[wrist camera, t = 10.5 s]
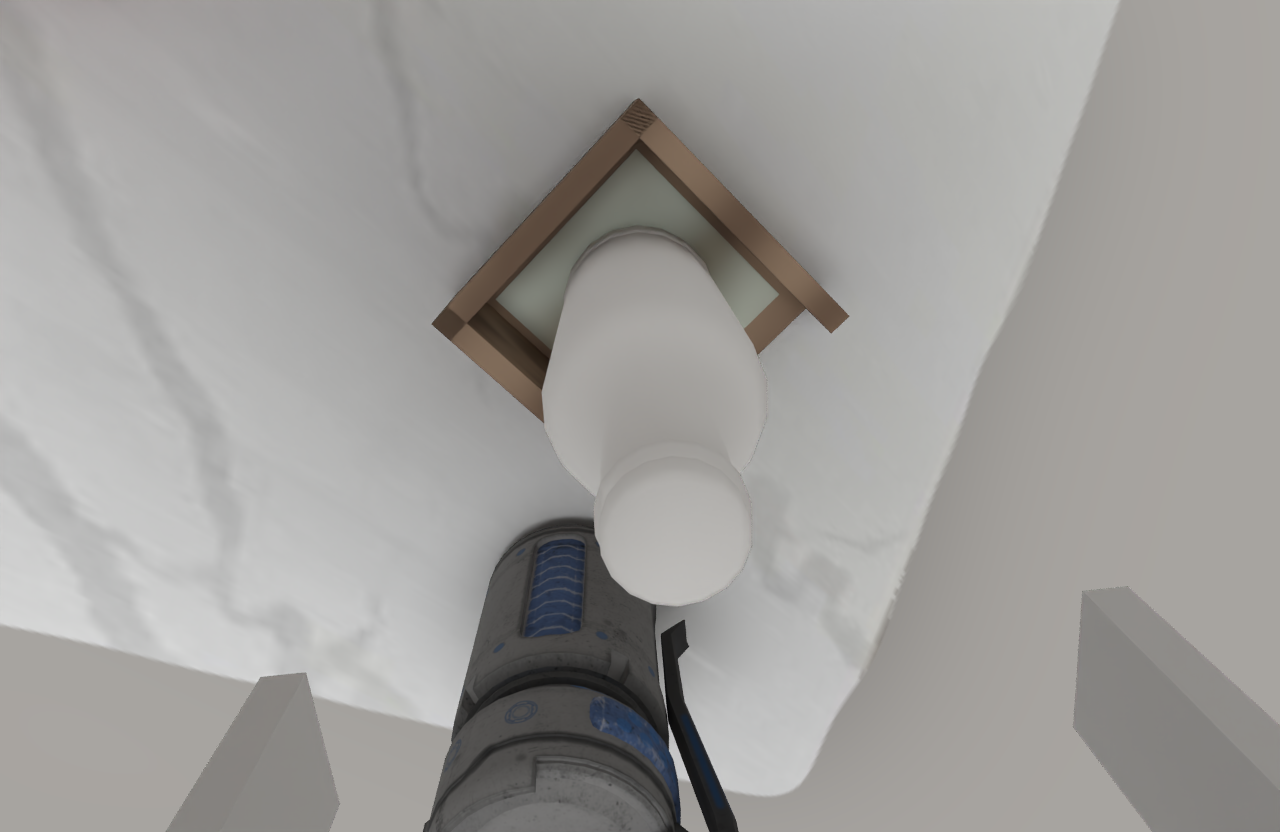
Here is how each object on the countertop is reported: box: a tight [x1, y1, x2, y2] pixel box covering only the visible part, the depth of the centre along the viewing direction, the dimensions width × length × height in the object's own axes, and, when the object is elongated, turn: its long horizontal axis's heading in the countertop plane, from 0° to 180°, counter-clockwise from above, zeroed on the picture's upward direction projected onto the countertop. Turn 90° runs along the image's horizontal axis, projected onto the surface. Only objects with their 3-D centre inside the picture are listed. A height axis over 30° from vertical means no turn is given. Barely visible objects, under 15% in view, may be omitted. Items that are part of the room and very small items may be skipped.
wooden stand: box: [432, 99, 849, 423], centre depth 47 cm, size 14×14×7 cm
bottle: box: [542, 225, 767, 607], centre depth 35 cm, size 8×8×30 cm
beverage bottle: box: [423, 525, 738, 832], centre depth 44 cm, size 10×13×25 cm
